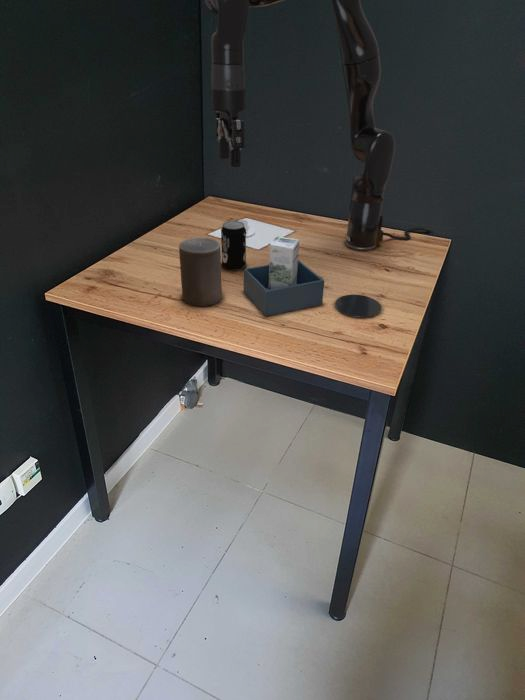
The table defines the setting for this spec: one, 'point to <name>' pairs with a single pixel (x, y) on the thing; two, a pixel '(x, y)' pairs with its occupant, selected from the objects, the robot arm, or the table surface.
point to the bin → (283, 290)
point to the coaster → (358, 306)
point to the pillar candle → (200, 271)
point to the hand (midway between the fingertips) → (229, 162)
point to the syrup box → (283, 262)
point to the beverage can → (233, 245)
